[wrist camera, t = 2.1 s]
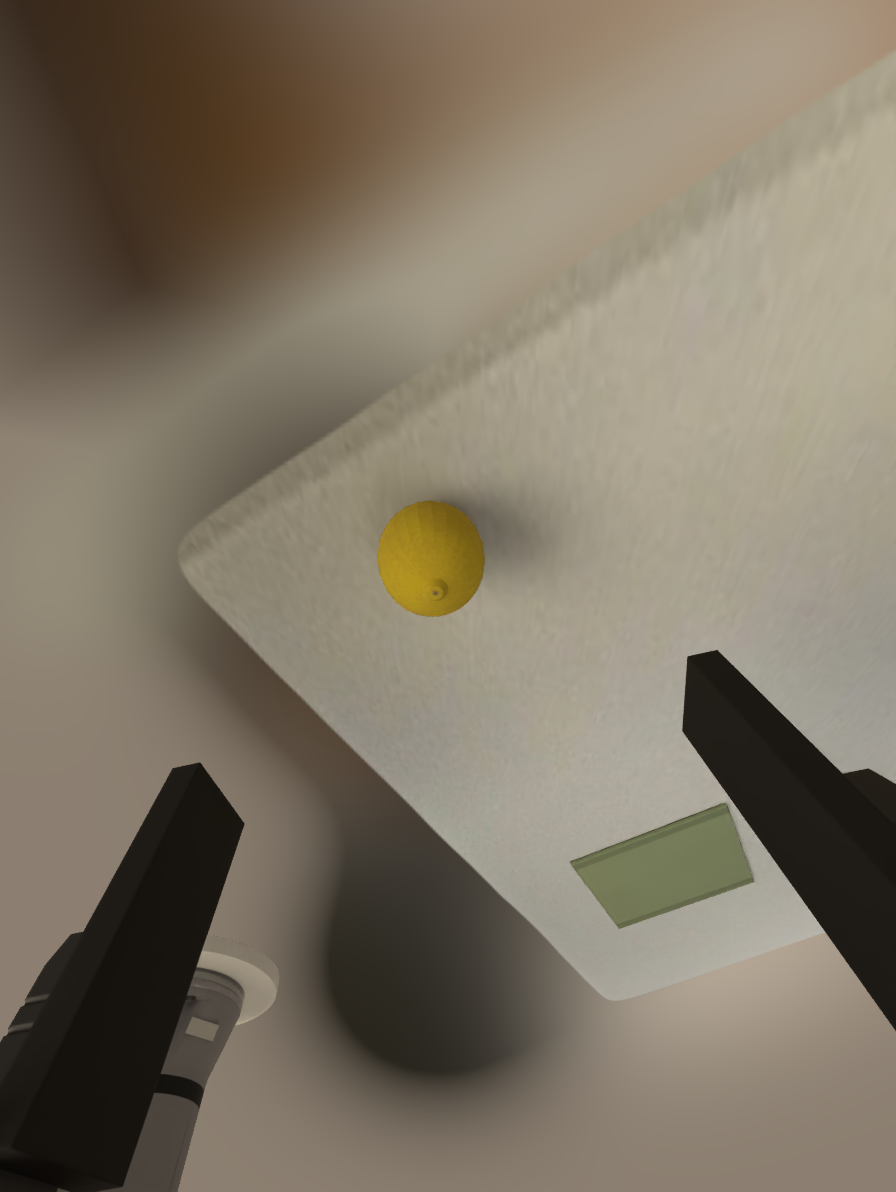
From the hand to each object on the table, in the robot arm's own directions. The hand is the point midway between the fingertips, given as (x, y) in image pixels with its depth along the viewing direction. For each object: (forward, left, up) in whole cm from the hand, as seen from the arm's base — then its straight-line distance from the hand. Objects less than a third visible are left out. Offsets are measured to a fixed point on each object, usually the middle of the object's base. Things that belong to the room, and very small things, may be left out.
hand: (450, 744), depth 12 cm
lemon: (0, 0, -17) cm, 17 cm away
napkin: (+16, -44, -17) cm, 50 cm away
